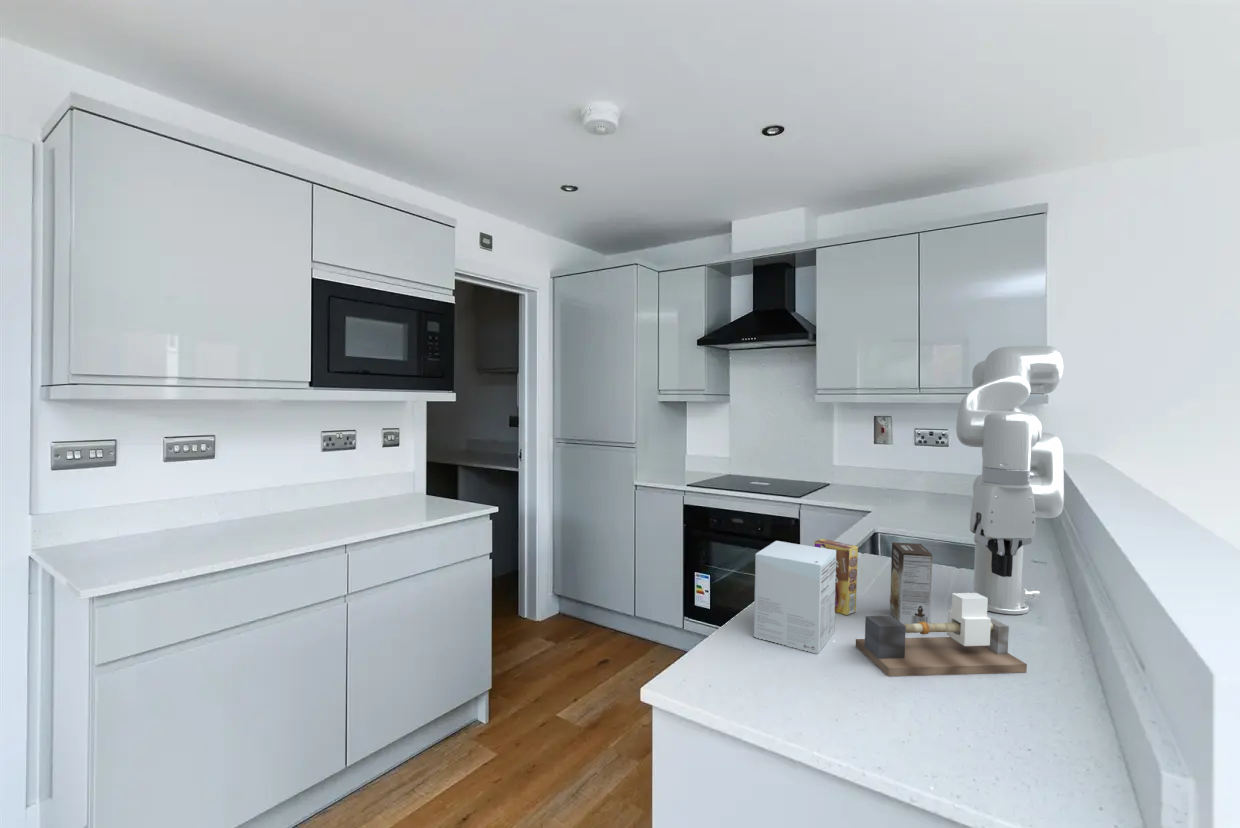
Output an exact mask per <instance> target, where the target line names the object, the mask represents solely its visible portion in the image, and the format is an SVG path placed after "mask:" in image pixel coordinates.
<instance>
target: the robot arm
mask: <svg viewBox="0 0 1240 828" xmlns="http://www.w3.org/2000/svg"><path fill="white" fill-rule="evenodd" d="M985 358H986V359H984V360H982V361H980V362H977V363H976V364H975V365H974V366H973V369H972V374H971V375H972V376H971V378H972V380H971V381H972V386H973V389H972V390H970V391H968V393H966V395H964V396H963V398H961V400H960V403H959V405H958V410H957V416H956V417H957V418H956V427H955V429H956V431H955V432H956V437H957V439H958V441H959V442H960V443H961V444H962V445H964V446H966V447H972V448H981V457H982V465H981V474H979V475H978V476H977V477H975V479H974V481H973V484H972V485H973V486H972V494H973V496H972V503H971V510H970V519H969V521H970V522H969V530H970V532H971V533H973V534H974V538H973V541H974V542H975V543H974V544H975V545H974V565H973V566H974V567H973V568H974V569H973V570H974V571H973V591H969V592H968V593H978V594H980V595H982V596H984V597H986V598H988V605H987V612H992V613H997V614H1003V615H1023V614H1026V613H1028V612H1029V611H1030V610H1029V609H1030V607H1029V604H1028V603H1027V602H1026V600H1027V601H1028V599H1031V600H1032V599H1033V600H1034V599H1036V600H1038V599H1040V598H1041V592H1040V591H1039V590H1037V589H1036V590H1035V589H1034V590H1033V589H1032V590H1031V589H1030V590H1027V589H1026V588H1025V587H1022V586H1023V585H1022V582H1023V562H1024V561H1023V560H1024V558H1023V557H1024V546H1027V545H1031V544H1032V543H1033V540H1032V538H1033V537H1034V536H1035V532H1036V518H1044V519H1053V518H1057V517H1059V516H1060V515H1061V514H1062V512H1063V510H1064V506H1065V475H1064V474H1065V472H1064V470H1065V469H1064V468H1065V467H1064V463H1065V462H1064V448H1063V445H1062V442H1061V440H1060V438H1059V437H1058V436H1057V435H1055V434H1054V433H1050V432H1044V431H1043V426H1042V421H1040V420H1039V419H1038V417H1037V416H1036V415H1035V414H1033V413H1031V412H1028V411H1023V410H1022V409H1021V408H1020V406H1021V405H1023V404H1024V403H1026V402H1027V400H1028V399H1029V398H1030V394H1037V395H1038V394H1041V395H1042V394H1051V393H1052V392H1054V391H1055V390H1056V389H1057V387H1058V385H1059V384H1060V381H1061V379H1062V377H1063V373H1064V359H1063V357H1062V354H1061V352H1060V351H1059V350H1058V349H1057V348H1055V346H1054V347H1053V346H1050V345H1026V346H1025V345H1024V346H1021V345H1020V346H1019V345H1017V346H1015V345H1014V346H1003V347H999V348H996V349H994V350H992V351H991V352H989V354H988V355H987V357H985ZM1034 473H1035V475H1034Z"/></svg>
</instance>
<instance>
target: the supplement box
mask: <svg viewBox="0 0 1240 828" xmlns="http://www.w3.org/2000/svg"><path fill="white" fill-rule="evenodd" d="M754 557H755V558H754V559H755V561H754V562H755V563H754V565H755V566H754V567H755V568H754V572H755V573H754V607H753V608H754V609H753V635H752V636H754V637H756V638H755V639H757V638H759V639H758V640H761V639H763V640H762V641H764V640H768V641H772V642H775V643H774V644H776V643H779V644H778V645H780V644H782V645H781V646H784V645H786V646H785V647H788V646H789V648H792V647H793V648H792V649H796V648H797V650H800V651H803V650H804V651H805V652H807V651H808V653H811V654H817V655H818V654H820V652H821V651H822V649H823V648H824V647H825V645H826V644H827V643H828V642H829V640H830V638H832V636H833V634H835V615H836V614H835V613H836V612H835V581H836V550H833V549H826V548H820V547H815V546H813V545H806V544H798V543H793V542H792V543H791V542H787V541H780V540H775V541H773V542H771V543H770V544H769V545H767V546H765V547H764V548H762V549H761V550H759V551H757V552H756V553H755V556H754ZM754 637H753V638H754ZM768 641H767V642H768ZM772 642H771V643H772Z"/></svg>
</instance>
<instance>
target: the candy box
mask: <svg viewBox="0 0 1240 828" xmlns="http://www.w3.org/2000/svg"><path fill="white" fill-rule="evenodd" d="M814 547H820V548H826V549H833V550H836V581H835V613H838V614H841V615H844V616H845V615H846V616H849V615H852V614H854V613H856V612H857V588H858V587H857V586H858V585H857V584H858V582H857V581H858V560H859V559H858V557H859V556H858V555H859V546H858V545H853V544H849V543H843V542H839V541H836V540H835V541H834V540H831V539H825V538H820V539H817V540H815V541H814Z"/></svg>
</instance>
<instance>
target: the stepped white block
mask: <svg viewBox="0 0 1240 828" xmlns="http://www.w3.org/2000/svg"><path fill="white" fill-rule="evenodd" d="M987 605H988V598H986V597H984V596H982V595H980V594H978V593H969V592H953V593H951V605H950V606H951V607H950V609H949V608H948V609H947V621H946V623H961V630H960V632H946V636H947V637H951V638H953V639H954V640H956V641H957V642H959V643H960V644H962V645H963V646H987V645H990V629H991V619H990V618H991V617H988V611H987Z"/></svg>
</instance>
